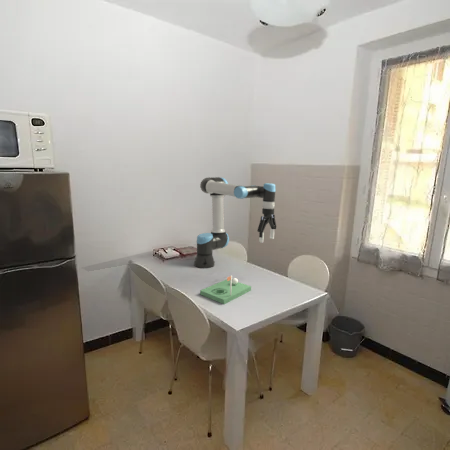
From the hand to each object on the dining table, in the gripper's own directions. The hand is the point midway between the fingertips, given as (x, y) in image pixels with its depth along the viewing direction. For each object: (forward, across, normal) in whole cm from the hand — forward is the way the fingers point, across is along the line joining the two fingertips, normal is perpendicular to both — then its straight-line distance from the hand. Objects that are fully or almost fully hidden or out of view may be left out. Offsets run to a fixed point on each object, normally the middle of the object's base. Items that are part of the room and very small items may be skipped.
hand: (266, 240), depth 192 cm
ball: (+21, -27, +5) cm, 35 cm away
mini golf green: (+26, -35, +5) cm, 44 cm away
